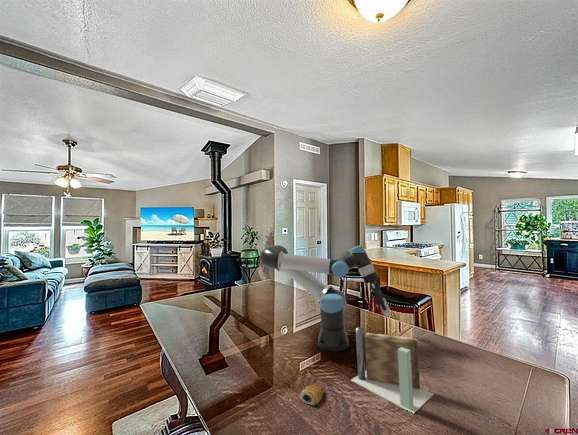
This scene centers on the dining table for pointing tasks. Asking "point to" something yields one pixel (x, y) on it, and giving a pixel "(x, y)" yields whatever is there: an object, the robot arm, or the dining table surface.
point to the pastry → (312, 394)
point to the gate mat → (394, 392)
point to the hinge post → (360, 353)
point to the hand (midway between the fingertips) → (388, 313)
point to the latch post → (405, 378)
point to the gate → (389, 357)
